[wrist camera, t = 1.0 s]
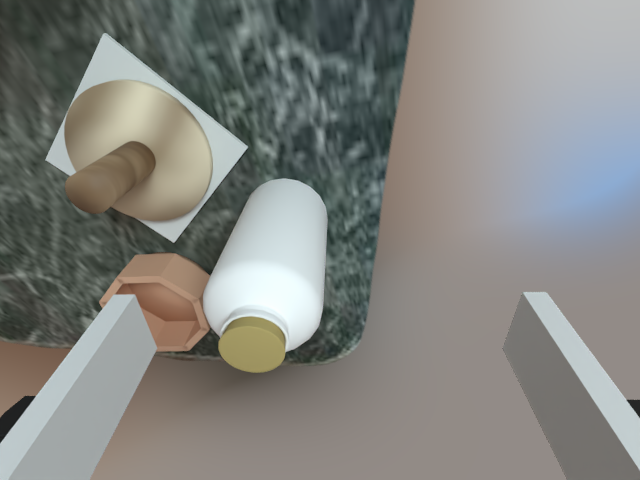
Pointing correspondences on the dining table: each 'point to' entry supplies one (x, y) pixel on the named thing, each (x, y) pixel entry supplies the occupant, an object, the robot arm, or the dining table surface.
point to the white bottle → (269, 277)
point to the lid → (135, 152)
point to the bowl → (166, 297)
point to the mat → (123, 65)
